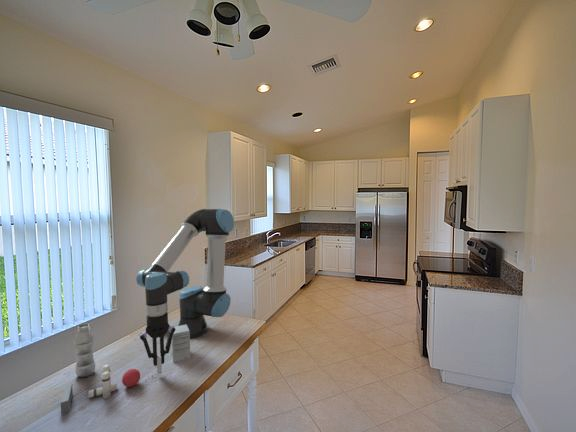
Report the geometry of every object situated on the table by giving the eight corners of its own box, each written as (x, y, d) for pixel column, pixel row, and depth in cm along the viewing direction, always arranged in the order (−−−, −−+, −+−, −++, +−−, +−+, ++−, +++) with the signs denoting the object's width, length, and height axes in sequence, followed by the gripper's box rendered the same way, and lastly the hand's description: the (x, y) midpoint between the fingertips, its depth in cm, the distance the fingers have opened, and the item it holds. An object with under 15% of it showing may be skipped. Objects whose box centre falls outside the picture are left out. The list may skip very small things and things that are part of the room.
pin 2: (110, 393, 104) (109, 370, 103) (110, 397, 102) (109, 373, 101) (102, 395, 103) (101, 372, 102) (102, 399, 101) (101, 376, 100)
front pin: (116, 381, 107) (88, 389, 102) (116, 385, 105) (88, 393, 100) (116, 387, 107) (89, 395, 103) (117, 391, 105) (88, 400, 101)
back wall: (72, 394, 103) (72, 383, 103) (68, 412, 95) (68, 400, 95) (65, 396, 102) (65, 385, 102) (61, 414, 94) (60, 402, 94)
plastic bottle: (85, 380, 111) (83, 330, 110) (71, 378, 113) (68, 328, 111) (99, 370, 118) (97, 322, 116) (85, 368, 119) (83, 321, 118)
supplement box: (170, 354, 130) (169, 327, 129) (188, 350, 133) (187, 323, 132) (172, 362, 123) (171, 334, 122) (190, 358, 126) (189, 330, 126)
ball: (118, 375, 108) (129, 385, 110) (118, 384, 103) (130, 393, 105) (132, 362, 111) (143, 372, 113) (133, 370, 106) (144, 379, 108)
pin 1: (111, 385, 108) (110, 363, 108) (110, 389, 106) (109, 366, 106) (103, 387, 107) (102, 365, 106) (103, 391, 105) (102, 368, 104)
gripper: (138, 320, 105) (141, 382, 107) (176, 313, 112) (178, 371, 113) (137, 313, 112) (139, 372, 113) (173, 307, 118) (175, 362, 120)
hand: (159, 372), depth 113 cm, fingers closed
